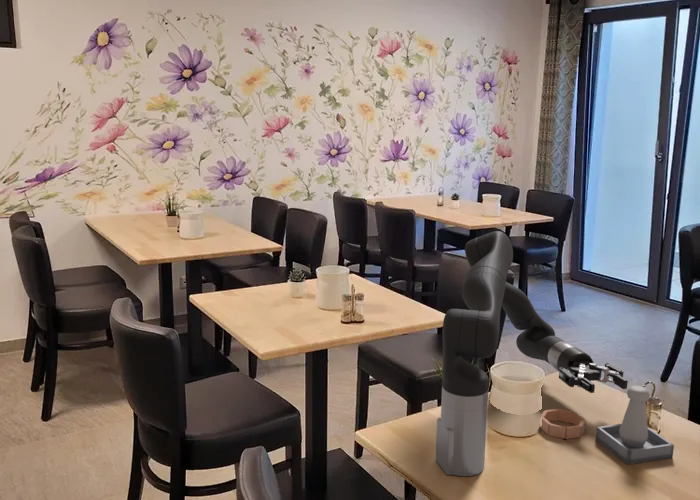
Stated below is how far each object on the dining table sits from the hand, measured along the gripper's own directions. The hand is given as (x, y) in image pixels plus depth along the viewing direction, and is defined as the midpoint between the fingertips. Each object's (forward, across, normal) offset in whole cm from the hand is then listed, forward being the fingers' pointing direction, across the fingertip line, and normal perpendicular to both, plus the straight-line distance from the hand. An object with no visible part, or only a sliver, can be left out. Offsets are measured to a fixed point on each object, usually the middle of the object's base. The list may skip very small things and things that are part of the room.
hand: (609, 387), depth 155 cm
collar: (-2, -10, +10) cm, 14 cm away
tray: (+10, 0, +10) cm, 14 cm away
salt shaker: (+10, 0, +9) cm, 13 cm away
